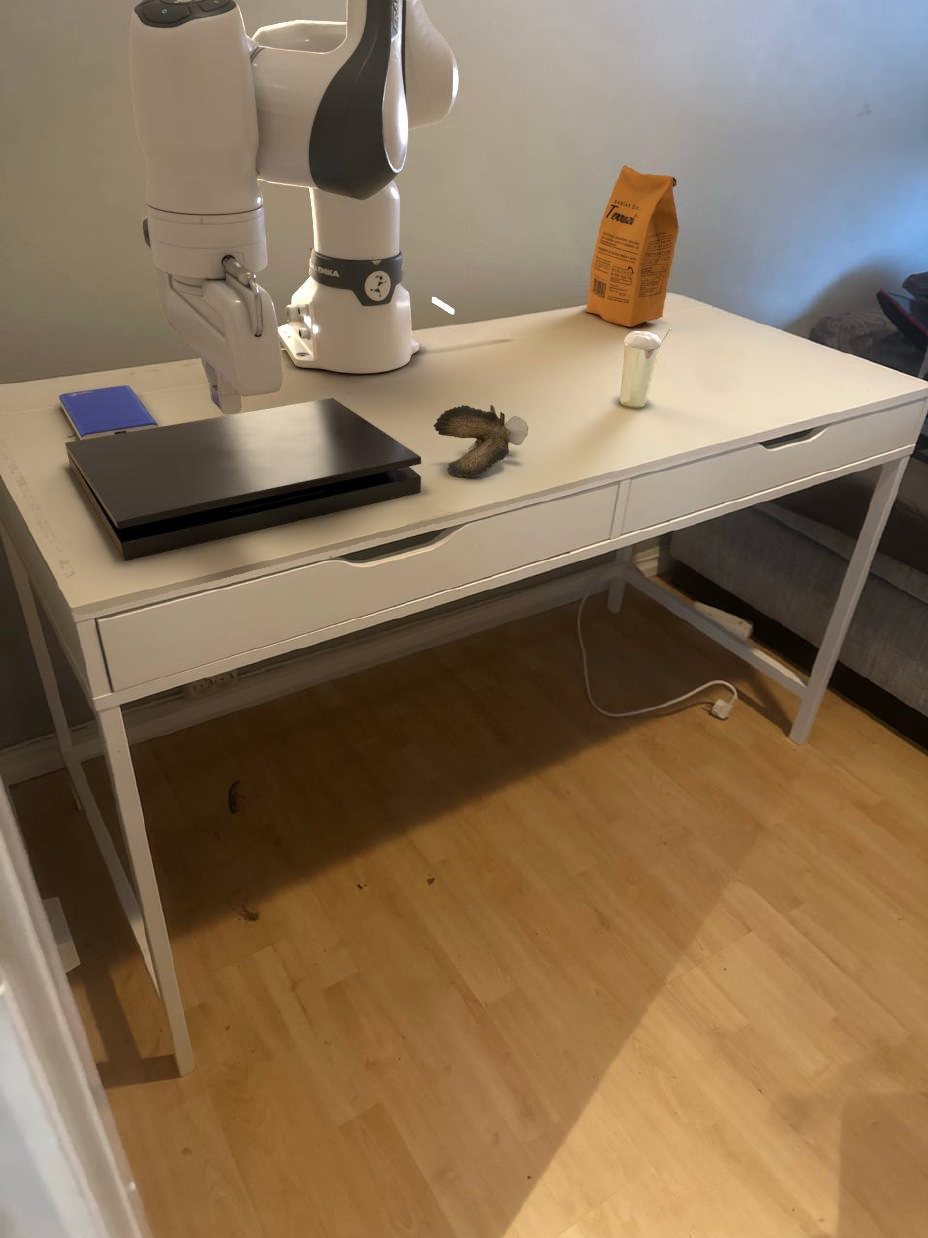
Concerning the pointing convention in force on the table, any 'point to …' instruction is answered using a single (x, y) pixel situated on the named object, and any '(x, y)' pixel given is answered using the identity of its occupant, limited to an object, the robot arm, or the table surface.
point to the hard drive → (106, 412)
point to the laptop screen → (232, 460)
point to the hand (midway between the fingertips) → (226, 407)
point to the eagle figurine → (480, 437)
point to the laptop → (251, 512)
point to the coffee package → (634, 249)
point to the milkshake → (638, 367)
